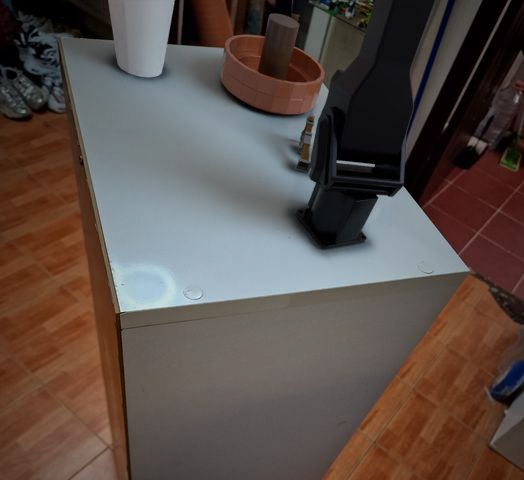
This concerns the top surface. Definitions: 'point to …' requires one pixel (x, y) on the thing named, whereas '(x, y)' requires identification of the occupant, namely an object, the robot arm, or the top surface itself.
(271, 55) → the brown cylinder
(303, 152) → the wooden post with brackets
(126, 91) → the top surface
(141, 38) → the foam cup
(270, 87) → the bowl
